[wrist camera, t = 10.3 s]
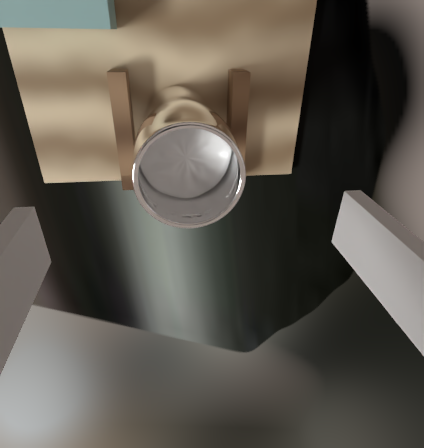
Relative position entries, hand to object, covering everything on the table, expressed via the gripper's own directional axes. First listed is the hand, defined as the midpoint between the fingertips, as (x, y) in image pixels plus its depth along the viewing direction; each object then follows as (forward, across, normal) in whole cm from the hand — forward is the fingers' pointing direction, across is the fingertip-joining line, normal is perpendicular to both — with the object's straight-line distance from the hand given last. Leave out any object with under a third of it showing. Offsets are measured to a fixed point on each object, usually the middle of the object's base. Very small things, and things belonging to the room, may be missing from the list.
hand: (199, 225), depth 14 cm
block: (+20, -9, +8) cm, 23 cm away
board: (+21, -1, +2) cm, 22 cm away
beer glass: (+20, 0, 0) cm, 20 cm away
